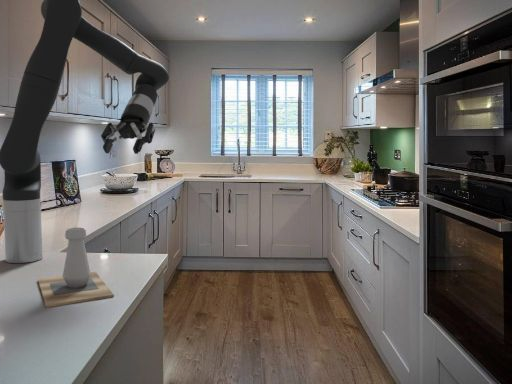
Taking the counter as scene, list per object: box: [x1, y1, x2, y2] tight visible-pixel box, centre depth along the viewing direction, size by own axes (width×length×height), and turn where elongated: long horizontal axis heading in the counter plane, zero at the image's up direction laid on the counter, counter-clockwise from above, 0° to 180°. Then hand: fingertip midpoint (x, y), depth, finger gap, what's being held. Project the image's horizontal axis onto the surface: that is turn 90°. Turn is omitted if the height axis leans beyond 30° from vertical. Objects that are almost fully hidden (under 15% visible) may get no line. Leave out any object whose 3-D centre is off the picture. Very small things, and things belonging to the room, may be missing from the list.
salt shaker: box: [62, 227, 92, 288], centre depth 98 cm, size 6×6×13 cm
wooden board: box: [37, 271, 115, 308], centre depth 98 cm, size 20×13×1 cm, turn 31°
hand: (120, 151), depth 119 cm, fingers open, 8 cm apart
